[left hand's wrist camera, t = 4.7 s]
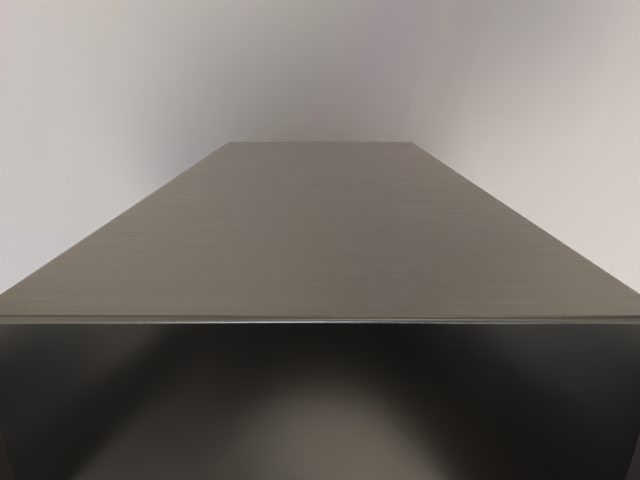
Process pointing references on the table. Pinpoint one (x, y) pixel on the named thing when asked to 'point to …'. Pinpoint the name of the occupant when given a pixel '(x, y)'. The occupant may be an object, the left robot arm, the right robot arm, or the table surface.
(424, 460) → the box
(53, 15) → the table surface
